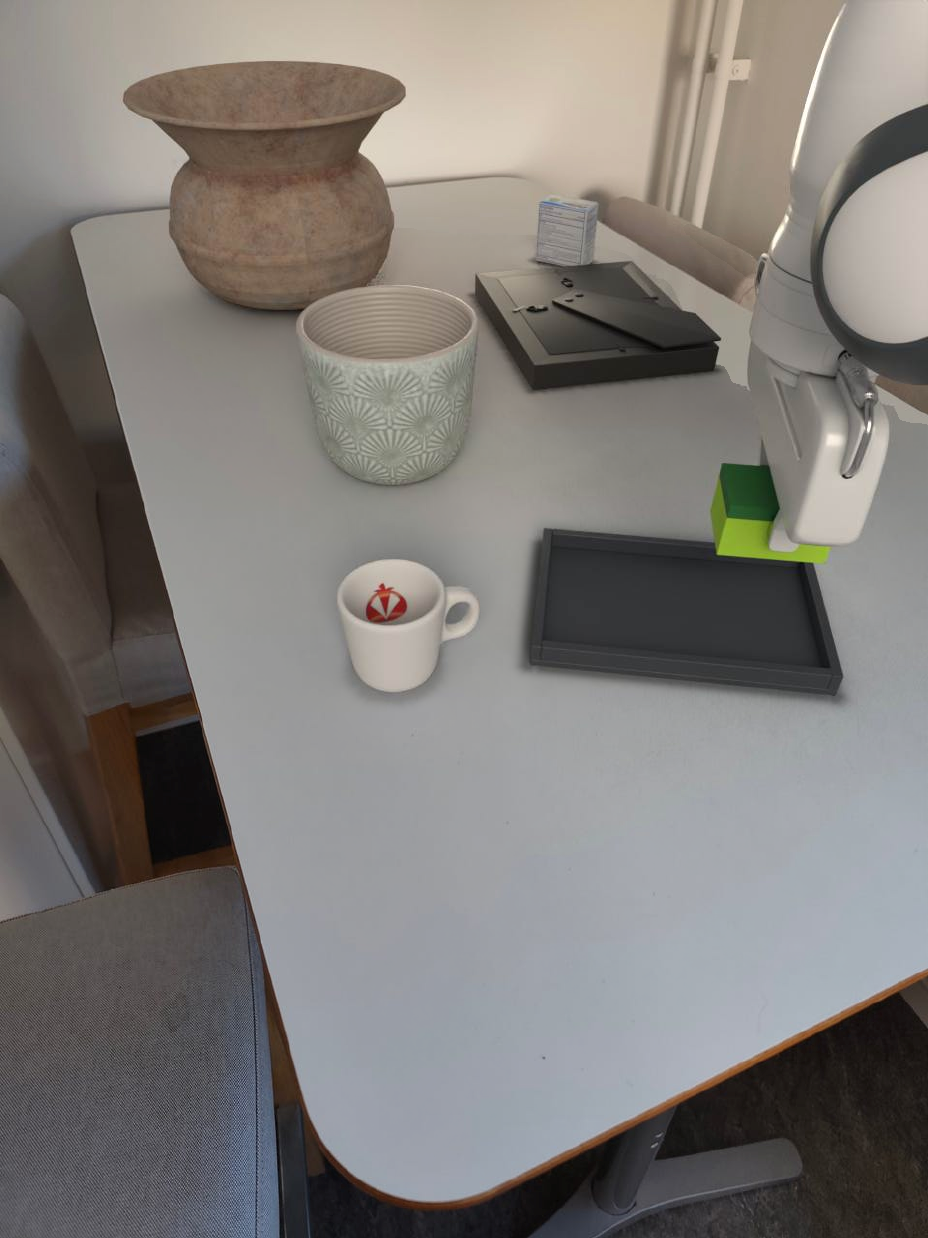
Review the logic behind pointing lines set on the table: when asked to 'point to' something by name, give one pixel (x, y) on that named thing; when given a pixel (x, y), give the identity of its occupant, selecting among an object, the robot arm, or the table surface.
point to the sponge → (751, 516)
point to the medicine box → (566, 231)
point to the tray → (681, 613)
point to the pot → (274, 176)
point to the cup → (399, 621)
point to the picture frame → (593, 325)
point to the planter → (390, 379)
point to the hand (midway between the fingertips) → (772, 515)
